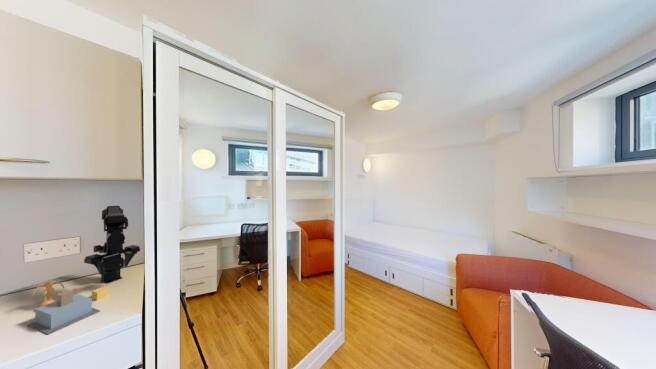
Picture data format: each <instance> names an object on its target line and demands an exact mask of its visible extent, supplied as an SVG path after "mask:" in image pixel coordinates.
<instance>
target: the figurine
mask: <svg viewBox="0 0 656 369" xmlns="http://www.w3.org/2000/svg"><path fill="white" fill-rule="evenodd" d="M54 284H59V285H60V287H61V288H62V289H65V286H64V284H62V282H61V281H54V280H47V281H46V282H45V283H42V284H41V285H38V286H37V287H36V288H35V290H33V291H32V294H31V297H33V296H34V294H35V293H36V292H37V290H38V289H39V288H42V287H44V288H45V289H44V290H43V293H42V294H43V298H44V301H43V302H41V303H40V305H39V307H41V306H44V305H47V304H50V303H52V302H55V301H56V300H55V299H53V295H54V292H55V291H54V290H55V288H54V287H53V286H54ZM48 292H49V293H50V296H49V297H50V298H49V299H48V298H47V294H48Z"/></svg>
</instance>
